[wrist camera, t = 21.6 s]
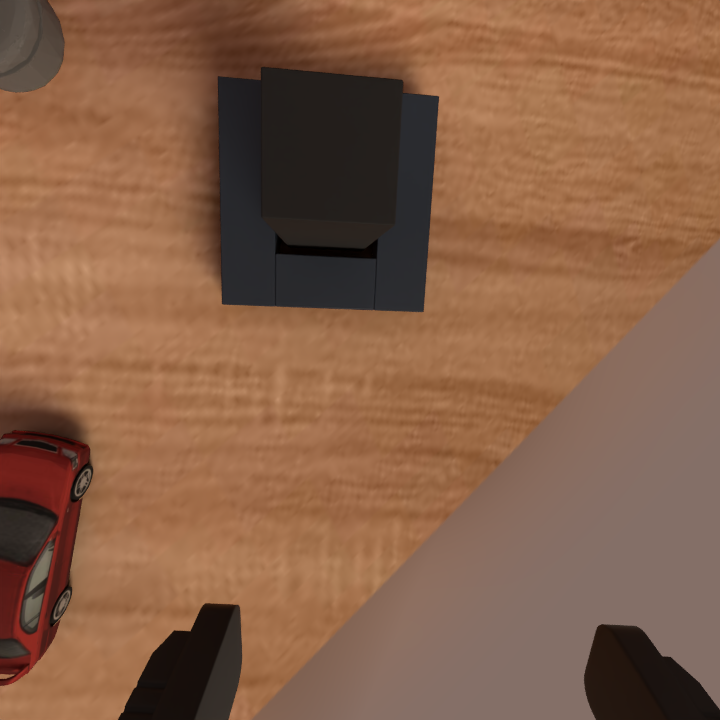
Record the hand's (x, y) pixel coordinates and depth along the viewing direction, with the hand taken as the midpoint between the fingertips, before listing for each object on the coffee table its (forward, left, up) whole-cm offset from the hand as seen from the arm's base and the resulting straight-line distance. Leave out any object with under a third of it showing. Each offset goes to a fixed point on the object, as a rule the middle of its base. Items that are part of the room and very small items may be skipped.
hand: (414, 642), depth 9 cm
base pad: (+8, -10, -19) cm, 23 cm away
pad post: (+8, -10, -19) cm, 23 cm away
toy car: (+13, +18, -19) cm, 30 cm away
